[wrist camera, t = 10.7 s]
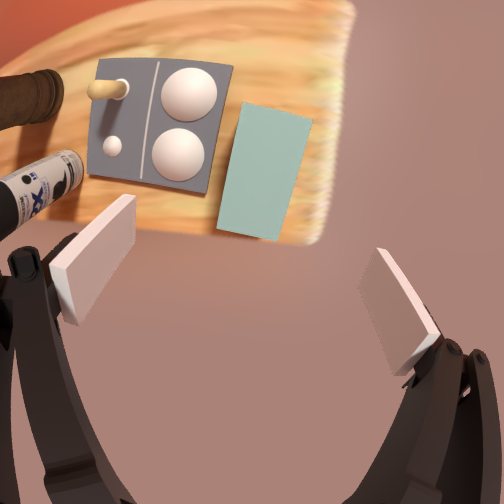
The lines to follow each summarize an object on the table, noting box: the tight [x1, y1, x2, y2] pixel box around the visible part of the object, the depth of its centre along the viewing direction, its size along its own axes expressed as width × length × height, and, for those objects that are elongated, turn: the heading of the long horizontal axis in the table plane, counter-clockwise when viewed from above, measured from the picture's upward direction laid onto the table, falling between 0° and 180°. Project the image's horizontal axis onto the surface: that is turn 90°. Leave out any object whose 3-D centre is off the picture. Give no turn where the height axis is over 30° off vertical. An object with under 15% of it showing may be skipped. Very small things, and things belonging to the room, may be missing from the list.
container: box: [0, 69, 64, 131], centre depth 20 cm, size 9×9×18 cm
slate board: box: [87, 58, 233, 194], centre depth 28 cm, size 18×17×7 cm
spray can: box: [0, 150, 84, 241], centre depth 26 cm, size 7×7×20 cm
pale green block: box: [216, 103, 313, 241], centre depth 30 cm, size 7×13×9 cm, turn 167°
